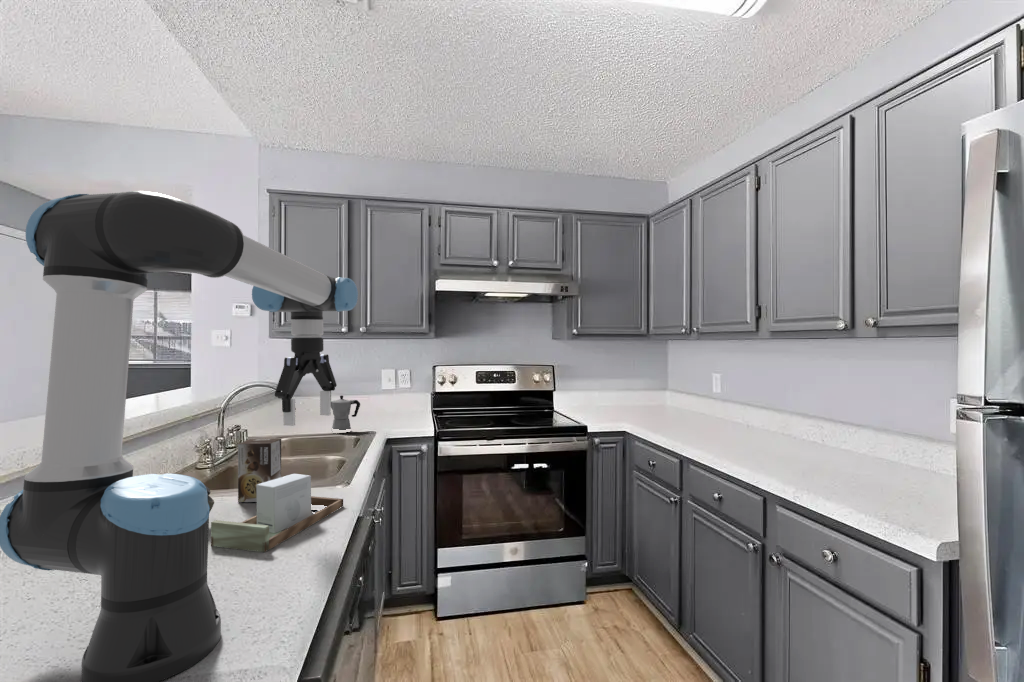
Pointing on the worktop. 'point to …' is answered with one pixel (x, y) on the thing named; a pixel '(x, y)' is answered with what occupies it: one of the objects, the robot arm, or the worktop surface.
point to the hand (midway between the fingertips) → (308, 420)
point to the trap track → (265, 529)
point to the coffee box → (257, 465)
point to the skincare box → (283, 501)
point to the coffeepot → (343, 413)
